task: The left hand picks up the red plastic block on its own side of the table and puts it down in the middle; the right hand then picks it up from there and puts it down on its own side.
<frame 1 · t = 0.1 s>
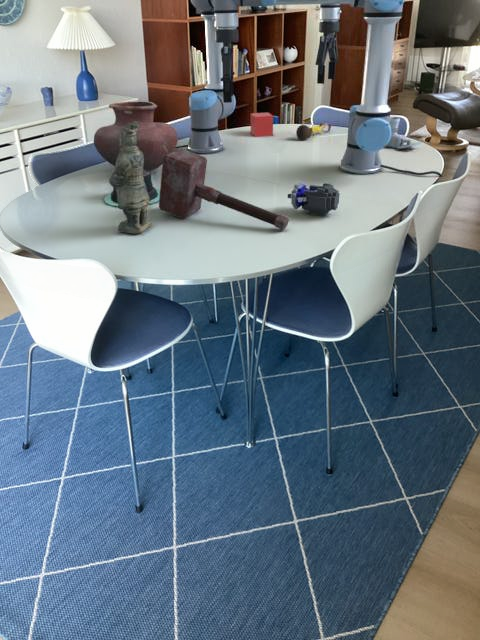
left hand: (326, 81, 221), 28 cm above the table, tool pointing down, fingers open, 13 cm apart
right hand: (228, 99, 188), 28 cm above the table, tool pointing down, fingers open, 13 cm apart
statue: (134, 229, 162), on the table
block: (261, 134, 268), on the table
sledgehammer: (224, 220, 166), on the table
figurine: (313, 136, 262), on the table
grey boot: (399, 148, 239), on the table
toy: (312, 213, 171), on the table
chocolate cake: (134, 197, 187), on the table
clay pot: (139, 171, 215), on the table
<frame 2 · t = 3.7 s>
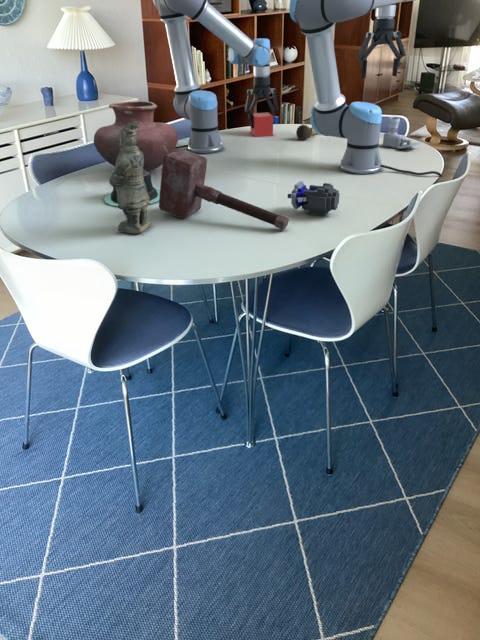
left hand: (261, 127, 266), 3 cm above the table, tool pointing down, fingers closed on block, 9 cm apart
right hand: (379, 77, 227), 28 cm above the table, tool pointing down, fingers open, 13 cm apart
block: (261, 134, 268), on the table, touching left hand
everything else where it was.
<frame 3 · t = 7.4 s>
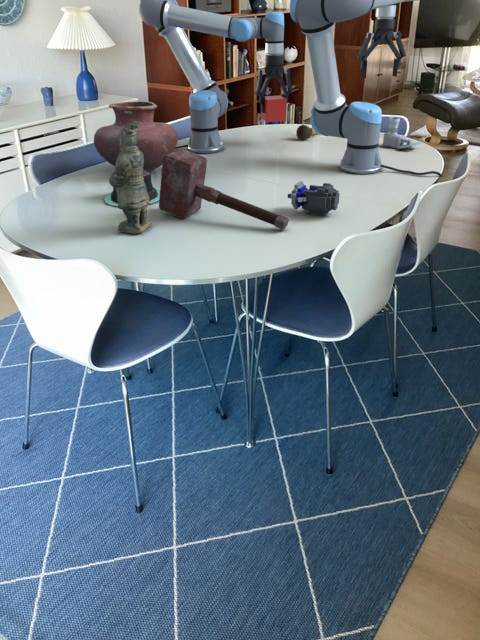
left hand: (273, 111, 241), 14 cm above the table, tool pointing down, fingers closed on block, 9 cm apart
right hand: (379, 77, 227), 28 cm above the table, tool pointing down, fingers open, 13 cm apart
block: (273, 119, 243), point 11 cm above the table, touching left hand
everything else where it was.
when the left hand's fingers open (5 cm above the table, at t = 11.4 s): block drops 1 cm, on the table.
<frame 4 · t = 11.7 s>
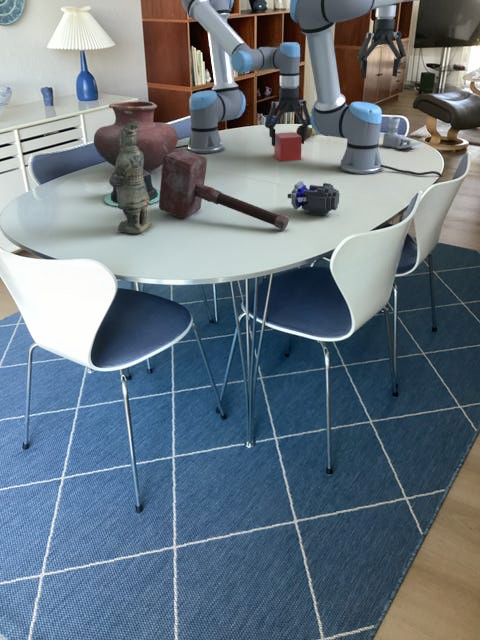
left hand: (287, 144, 226), 5 cm above the table, tool pointing down, fingers open, 11 cm apart
right hand: (379, 77, 227), 28 cm above the table, tool pointing down, fingers open, 13 cm apart
block: (287, 157, 229), on the table
everything else where it was.
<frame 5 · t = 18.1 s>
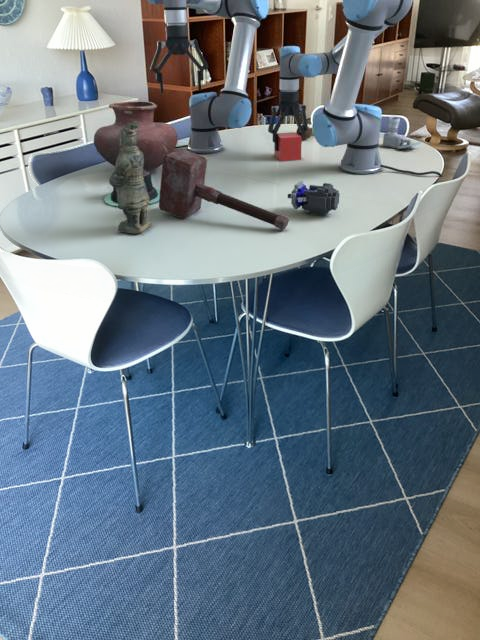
left hand: (181, 91, 198), 29 cm above the table, tool pointing down, fingers open, 13 cm apart
right hand: (287, 149, 227), 3 cm above the table, tool pointing down, fingers closed on block, 9 cm apart
block: (287, 157, 229), on the table, touching right hand
everything else where it was.
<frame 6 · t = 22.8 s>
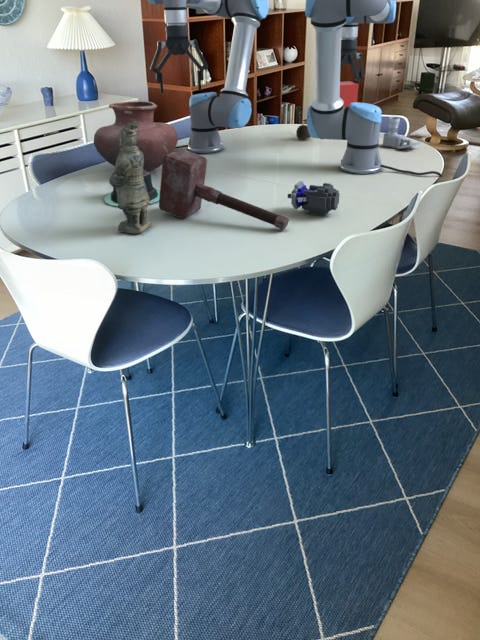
left hand: (181, 91, 198), 29 cm above the table, tool pointing down, fingers open, 13 cm apart
right hand: (343, 97, 236), 20 cm above the table, tool pointing down, fingers closed on block, 9 cm apart
block: (343, 105, 238), point 16 cm above the table, touching right hand
everything else where it was.
when the right hand's fingers open (4 cm above the table, at t = 27.5 s): block drops 1 cm, on the table.
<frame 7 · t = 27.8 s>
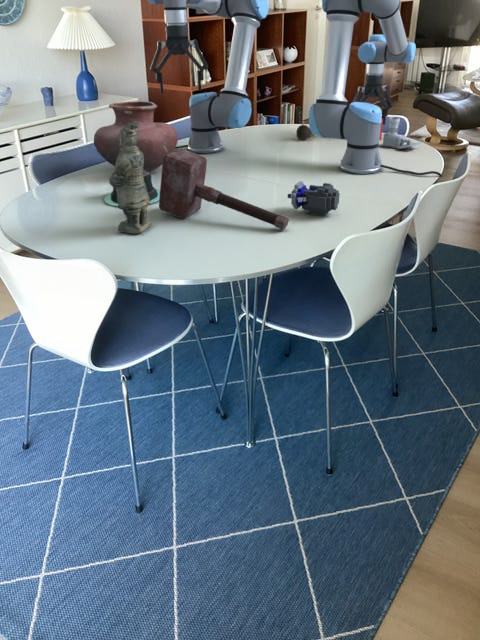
left hand: (181, 91, 198), 29 cm above the table, tool pointing down, fingers open, 13 cm apart
right hand: (369, 125, 254), 6 cm above the table, tool pointing down, fingers open, 12 cm apart
block: (368, 137, 257), on the table
everything else where it was.
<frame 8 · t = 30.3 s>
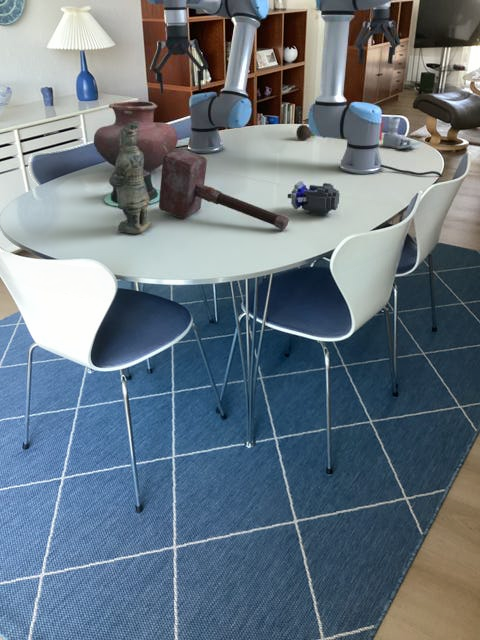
left hand: (181, 91, 198), 29 cm above the table, tool pointing down, fingers open, 13 cm apart
right hand: (375, 64, 241), 31 cm above the table, tool pointing down, fingers open, 13 cm apart
nothing on the table moved.
at the end: block inside the target area (0.1 cm from its centre), on the table; block tilted 0°; the two hands never held the block at the same time; the left hand is holding nothing; the right hand is holding nothing; block at rest at the end (0.0 cm/s) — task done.
